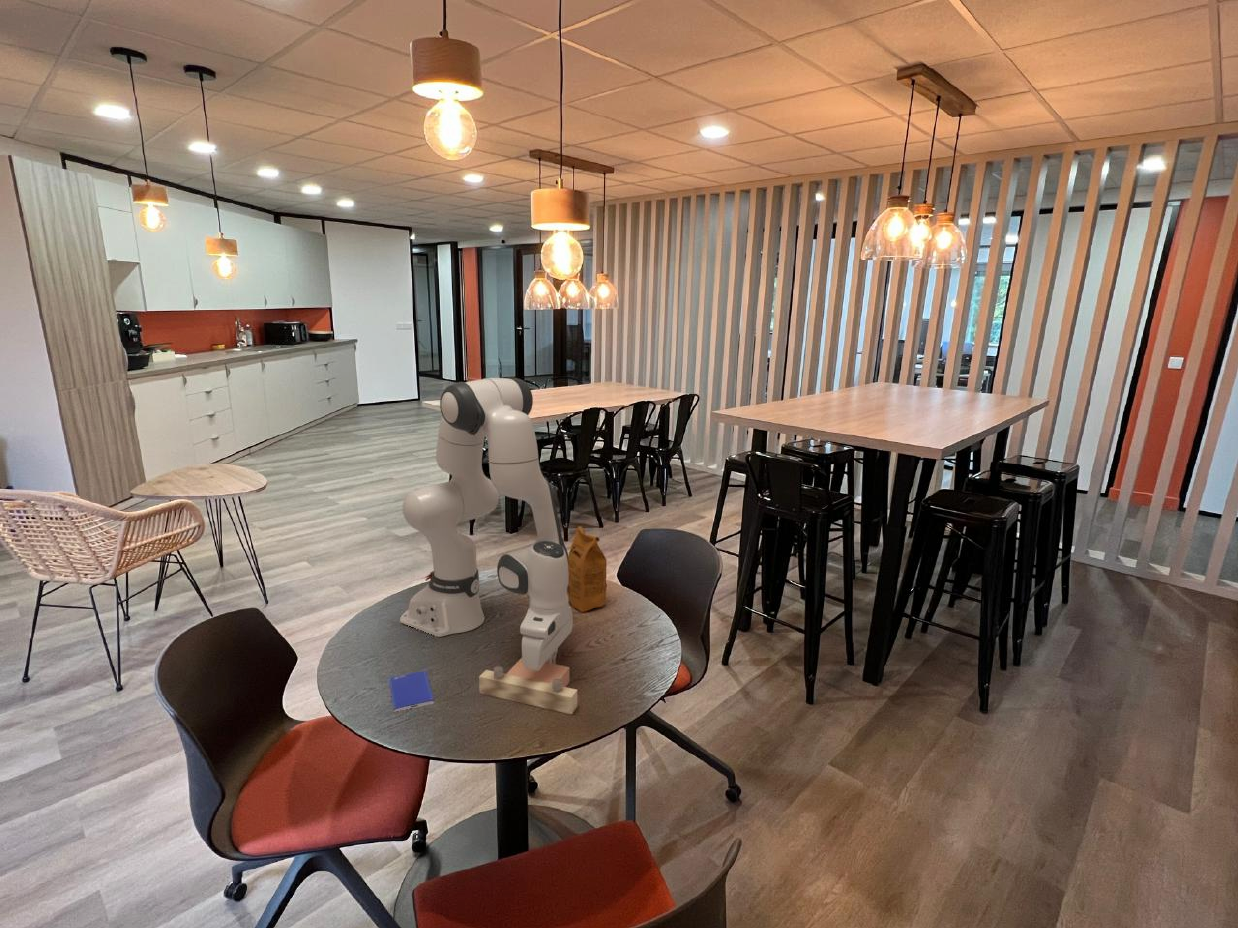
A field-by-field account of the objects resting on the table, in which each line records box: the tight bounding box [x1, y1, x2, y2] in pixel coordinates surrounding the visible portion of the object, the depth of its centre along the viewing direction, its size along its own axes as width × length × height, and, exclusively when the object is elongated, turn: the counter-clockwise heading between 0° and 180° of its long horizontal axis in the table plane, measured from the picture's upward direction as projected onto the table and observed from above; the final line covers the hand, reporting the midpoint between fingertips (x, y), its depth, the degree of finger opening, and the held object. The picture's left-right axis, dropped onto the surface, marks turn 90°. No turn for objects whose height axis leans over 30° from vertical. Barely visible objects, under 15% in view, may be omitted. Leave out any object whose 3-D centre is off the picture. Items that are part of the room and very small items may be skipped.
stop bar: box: [478, 665, 578, 715], centre depth 136 cm, size 22×3×6 cm, turn 71°
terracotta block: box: [506, 657, 570, 687], centre depth 142 cm, size 12×8×4 cm, turn 71°
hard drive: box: [388, 670, 435, 713], centre depth 139 cm, size 2×8×12 cm
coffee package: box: [567, 526, 608, 613], centre depth 181 cm, size 10×12×22 cm
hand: (549, 667), depth 146 cm, fingers closed
